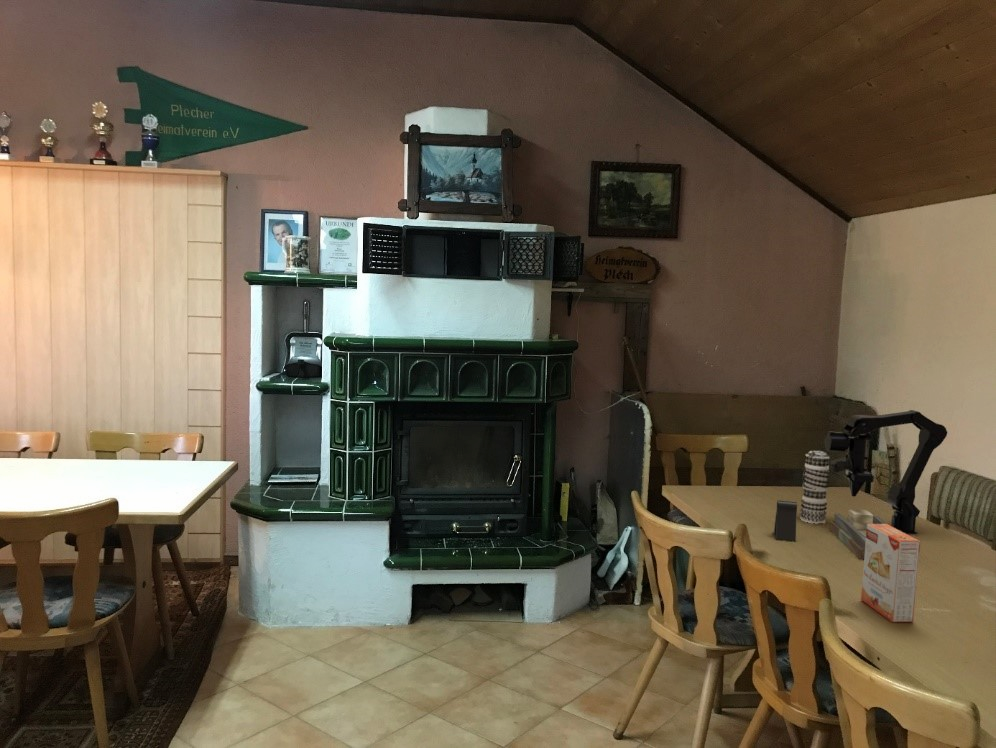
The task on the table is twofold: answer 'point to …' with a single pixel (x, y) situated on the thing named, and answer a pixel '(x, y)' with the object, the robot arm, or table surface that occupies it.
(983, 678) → the table surface
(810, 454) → the decorative candle
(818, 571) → the table surface
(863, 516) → the cream block
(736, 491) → the table surface
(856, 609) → the table surface
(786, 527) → the phone stand
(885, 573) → the cracker box
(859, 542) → the channel board
